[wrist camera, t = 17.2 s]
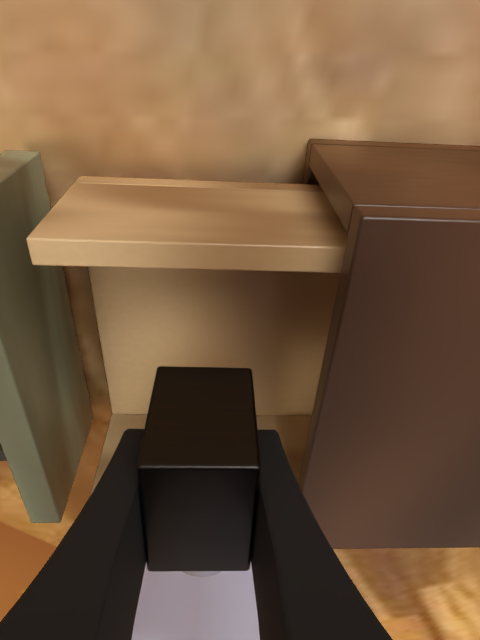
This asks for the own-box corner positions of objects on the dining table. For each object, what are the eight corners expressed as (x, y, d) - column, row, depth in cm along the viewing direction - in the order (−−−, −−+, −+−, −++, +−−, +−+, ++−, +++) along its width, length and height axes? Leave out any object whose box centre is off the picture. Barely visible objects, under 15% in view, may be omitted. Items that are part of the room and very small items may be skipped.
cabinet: (272, 414, 25) (289, 550, 18) (308, 138, 16) (361, 216, 10) (524, 415, 26) (622, 546, 19) (679, 154, 17) (939, 235, 11)
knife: (157, 364, 11) (135, 467, 8) (252, 366, 11) (261, 467, 9) (168, 566, 16) (156, 674, 13) (236, 566, 16) (238, 673, 13)
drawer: (-48, 417, 23) (-119, 525, 18) (-175, 142, 15) (-357, 202, 10) (326, 419, 24) (353, 521, 19) (385, 164, 16) (454, 229, 11)
